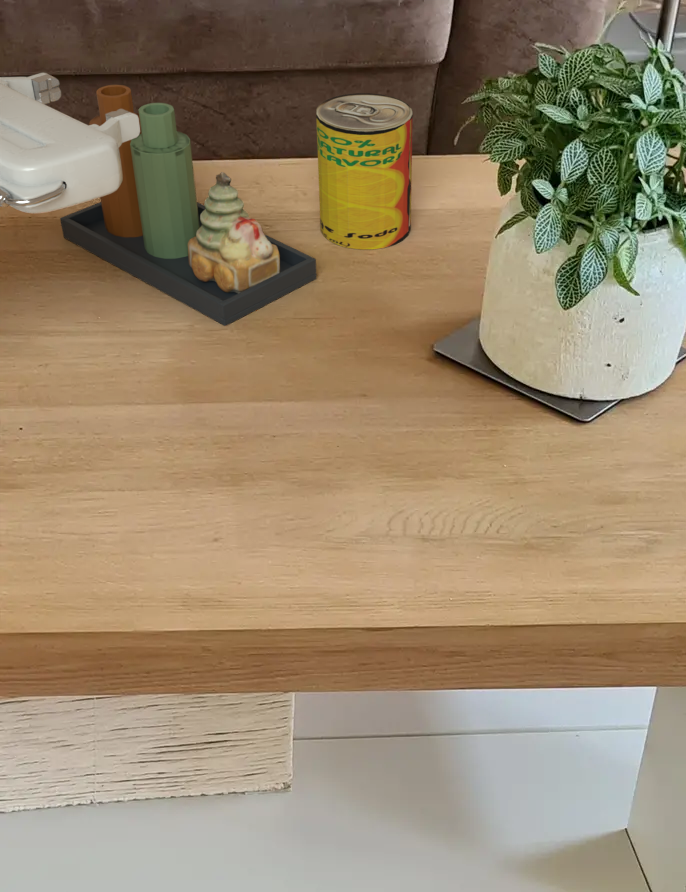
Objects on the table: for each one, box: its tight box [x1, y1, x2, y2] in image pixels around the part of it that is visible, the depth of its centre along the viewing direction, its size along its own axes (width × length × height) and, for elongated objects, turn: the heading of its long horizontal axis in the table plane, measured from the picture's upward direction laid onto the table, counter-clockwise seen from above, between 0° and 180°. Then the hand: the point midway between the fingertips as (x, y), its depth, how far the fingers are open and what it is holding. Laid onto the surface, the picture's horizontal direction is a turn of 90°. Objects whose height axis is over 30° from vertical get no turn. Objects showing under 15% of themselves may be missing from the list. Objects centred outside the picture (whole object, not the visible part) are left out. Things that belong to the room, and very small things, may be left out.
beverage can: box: [315, 92, 414, 250], centre depth 112 cm, size 9×9×12 cm
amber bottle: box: [88, 84, 143, 237], centre depth 110 cm, size 5×5×14 cm
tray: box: [59, 201, 317, 327], centre depth 110 cm, size 23×11×2 cm, turn 50°
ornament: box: [188, 171, 280, 294], centre depth 103 cm, size 8×6×10 cm
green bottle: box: [130, 102, 200, 259], centre depth 107 cm, size 5×5×14 cm
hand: (93, 102), depth 87 cm, fingers open, 8 cm apart
